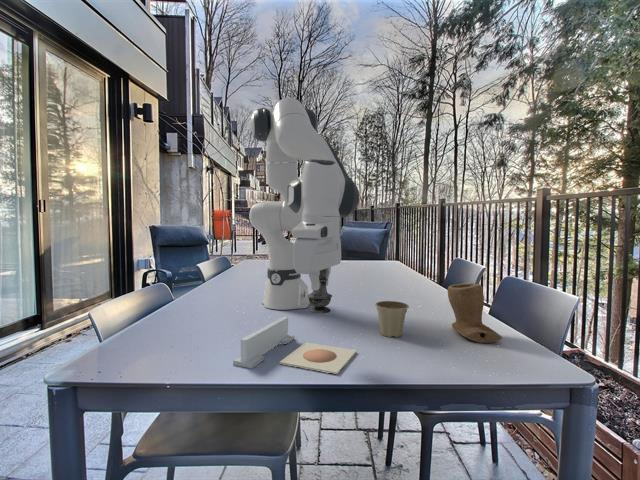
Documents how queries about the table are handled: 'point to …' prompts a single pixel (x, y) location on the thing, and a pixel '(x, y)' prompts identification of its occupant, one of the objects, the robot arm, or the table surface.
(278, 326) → the acrylic wall
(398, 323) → the flower pot
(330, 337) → the table surface
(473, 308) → the brown boot
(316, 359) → the mat
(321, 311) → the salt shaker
